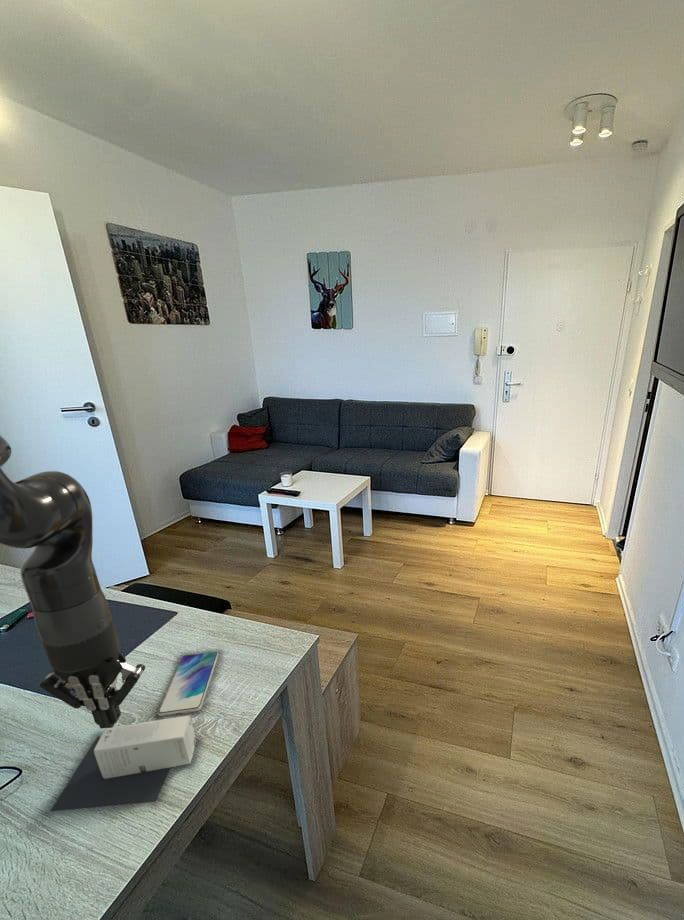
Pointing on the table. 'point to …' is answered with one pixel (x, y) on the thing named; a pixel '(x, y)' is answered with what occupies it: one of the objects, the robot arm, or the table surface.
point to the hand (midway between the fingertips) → (109, 723)
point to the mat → (108, 786)
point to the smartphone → (189, 684)
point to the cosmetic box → (145, 747)
